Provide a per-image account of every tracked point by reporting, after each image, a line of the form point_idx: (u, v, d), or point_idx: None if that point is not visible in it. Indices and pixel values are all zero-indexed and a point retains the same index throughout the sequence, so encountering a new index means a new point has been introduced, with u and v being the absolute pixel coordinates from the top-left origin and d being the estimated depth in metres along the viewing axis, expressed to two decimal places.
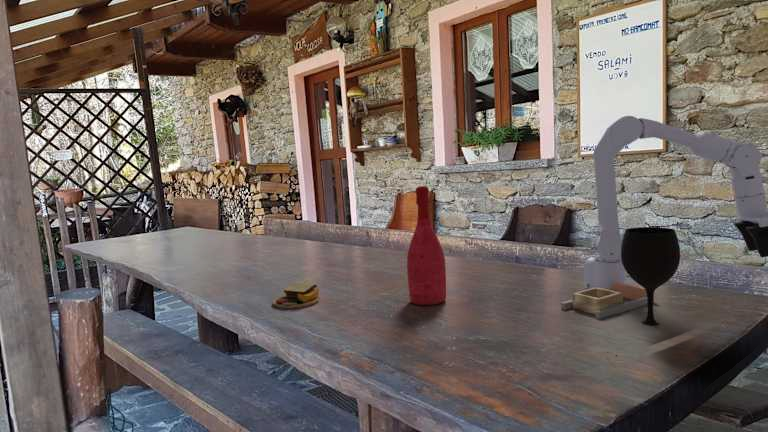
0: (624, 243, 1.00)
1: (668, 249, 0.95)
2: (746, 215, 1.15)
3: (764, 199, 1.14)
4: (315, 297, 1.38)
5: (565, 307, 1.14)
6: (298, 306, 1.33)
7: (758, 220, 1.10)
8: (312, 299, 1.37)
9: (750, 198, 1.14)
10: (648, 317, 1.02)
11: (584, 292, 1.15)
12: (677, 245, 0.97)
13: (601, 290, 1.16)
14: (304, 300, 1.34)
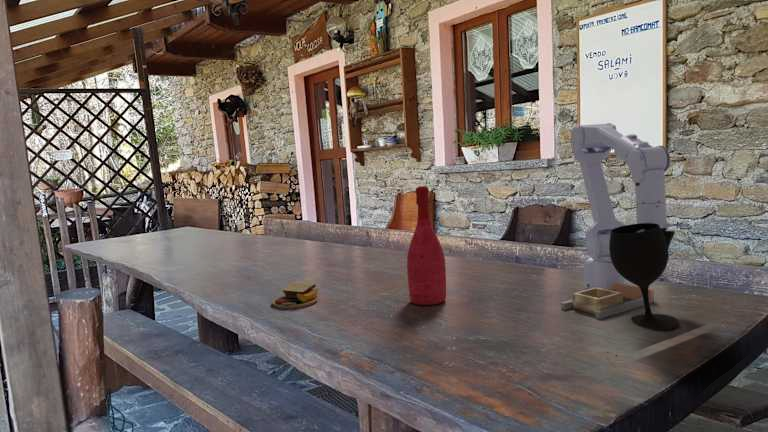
0: (611, 245, 1.00)
1: (655, 246, 0.95)
2: (638, 223, 1.09)
3: (659, 209, 1.06)
4: (314, 297, 1.38)
5: (565, 307, 1.14)
6: (297, 306, 1.33)
7: None
8: (311, 299, 1.37)
9: (642, 205, 1.07)
10: (646, 314, 1.01)
11: (584, 292, 1.15)
12: (663, 240, 0.97)
13: (601, 290, 1.16)
14: (303, 300, 1.34)
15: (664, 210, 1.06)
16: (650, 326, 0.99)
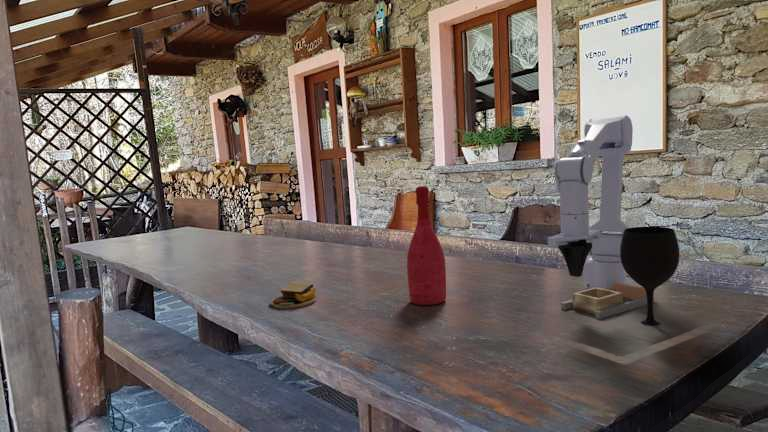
0: (623, 243, 1.00)
1: (667, 249, 0.95)
2: None
3: (577, 220, 1.06)
4: (312, 297, 1.38)
5: (565, 307, 1.14)
6: (296, 306, 1.33)
7: None
8: (309, 299, 1.37)
9: (563, 216, 1.08)
10: (648, 317, 1.02)
11: (584, 292, 1.15)
12: (676, 245, 0.97)
13: (601, 290, 1.16)
14: (302, 300, 1.34)
15: (584, 221, 1.06)
16: None
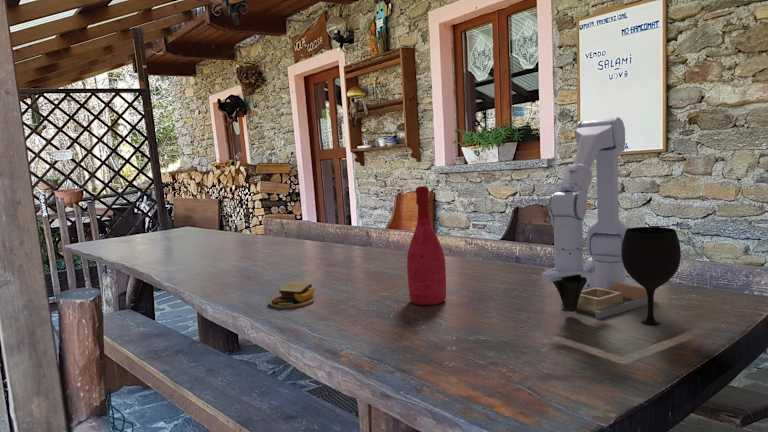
0: (625, 243, 1.00)
1: (669, 249, 0.95)
2: (555, 267, 1.09)
3: (571, 256, 1.05)
4: (311, 297, 1.38)
5: None
6: (295, 306, 1.33)
7: None
8: (308, 299, 1.37)
9: (557, 251, 1.07)
10: (648, 317, 1.02)
11: (584, 292, 1.15)
12: (678, 245, 0.96)
13: (601, 290, 1.16)
14: (301, 300, 1.35)
15: (578, 257, 1.05)
16: None
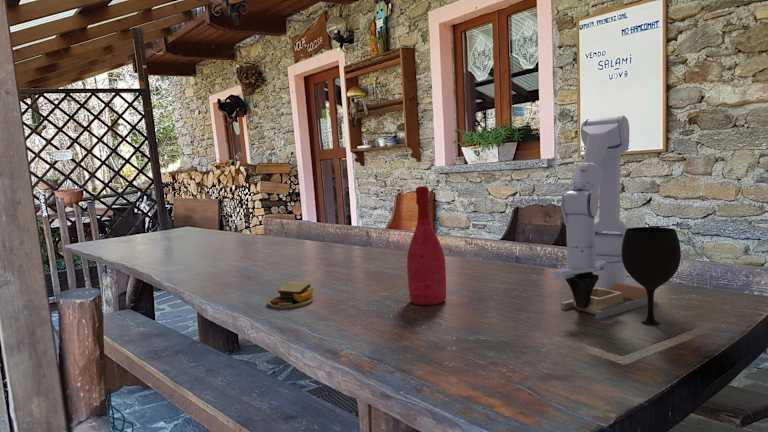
0: (625, 242, 1.00)
1: (669, 249, 0.95)
2: (567, 264, 1.11)
3: (583, 253, 1.07)
4: (310, 297, 1.38)
5: (565, 307, 1.14)
6: (294, 306, 1.33)
7: None
8: (307, 299, 1.37)
9: (569, 248, 1.09)
10: (648, 317, 1.02)
11: None
12: (678, 245, 0.97)
13: (602, 290, 1.16)
14: (300, 300, 1.35)
15: (590, 255, 1.07)
16: None
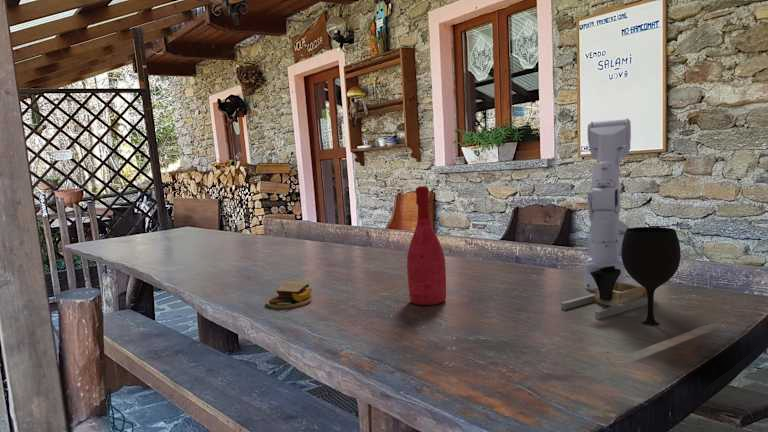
0: (625, 242, 1.01)
1: (668, 249, 0.95)
2: (591, 259, 1.15)
3: (608, 248, 1.11)
4: (308, 296, 1.39)
5: (565, 307, 1.14)
6: (293, 306, 1.34)
7: None
8: (306, 298, 1.37)
9: (594, 243, 1.13)
10: (648, 317, 1.02)
11: None
12: (677, 245, 0.97)
13: (622, 284, 1.20)
14: (298, 299, 1.35)
15: (614, 249, 1.11)
16: None
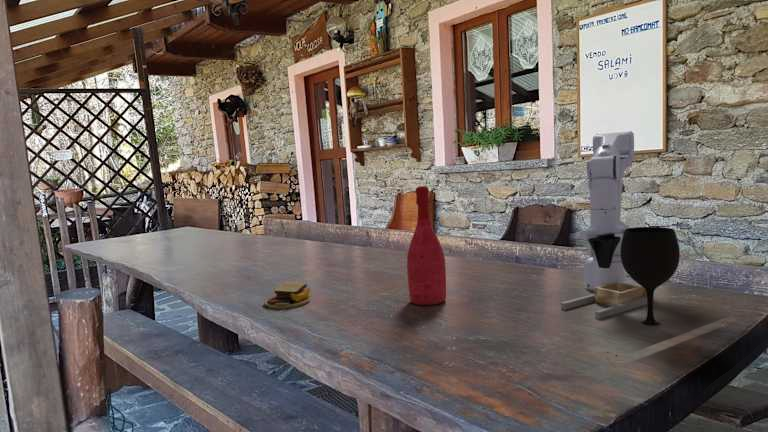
0: (623, 243, 1.01)
1: (667, 248, 0.96)
2: (590, 227, 1.17)
3: (606, 215, 1.13)
4: (307, 296, 1.39)
5: (565, 307, 1.14)
6: (291, 306, 1.34)
7: None
8: (304, 298, 1.38)
9: (593, 211, 1.15)
10: (648, 317, 1.02)
11: (605, 286, 1.19)
12: (676, 244, 0.97)
13: (622, 284, 1.20)
14: (297, 300, 1.35)
15: (613, 216, 1.14)
16: None
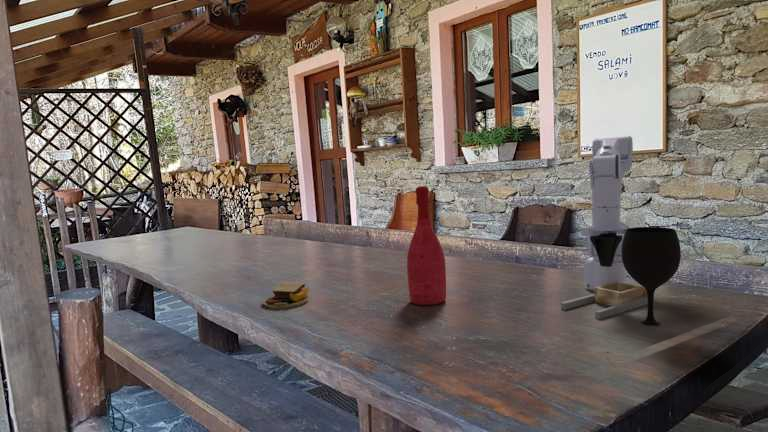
0: (625, 242, 1.01)
1: (668, 249, 0.95)
2: (592, 225, 1.18)
3: (608, 213, 1.14)
4: (305, 296, 1.39)
5: (565, 307, 1.14)
6: (290, 306, 1.34)
7: None
8: (303, 298, 1.38)
9: (595, 209, 1.16)
10: (648, 317, 1.02)
11: (605, 286, 1.19)
12: (678, 245, 0.97)
13: (622, 284, 1.20)
14: (296, 299, 1.35)
15: (615, 214, 1.15)
16: None
